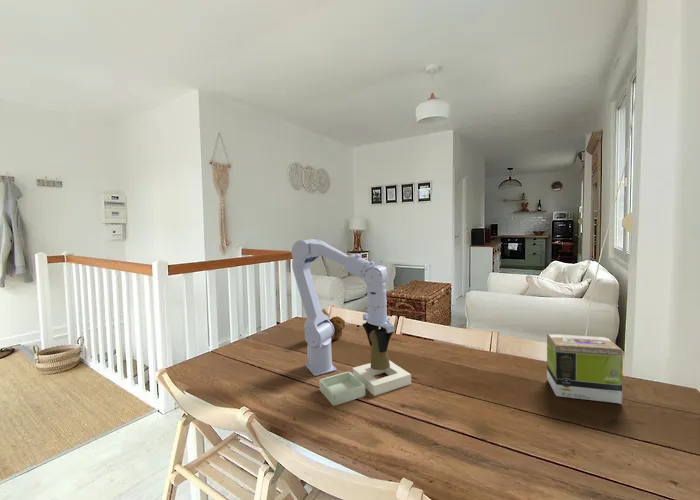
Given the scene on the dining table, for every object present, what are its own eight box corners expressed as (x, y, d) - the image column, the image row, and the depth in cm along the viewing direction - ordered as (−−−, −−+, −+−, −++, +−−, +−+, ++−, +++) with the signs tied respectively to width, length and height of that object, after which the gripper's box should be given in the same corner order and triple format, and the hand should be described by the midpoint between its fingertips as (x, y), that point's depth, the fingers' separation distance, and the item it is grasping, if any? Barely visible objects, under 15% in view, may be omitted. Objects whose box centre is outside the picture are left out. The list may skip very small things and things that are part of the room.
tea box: (606, 386, 92) (607, 335, 91) (622, 405, 82) (625, 349, 81) (545, 379, 97) (546, 331, 95) (554, 397, 87) (556, 344, 86)
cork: (388, 370, 95) (386, 334, 94) (368, 369, 97) (366, 334, 96) (391, 361, 101) (388, 327, 100) (372, 361, 103) (369, 327, 102)
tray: (319, 389, 96) (318, 379, 96) (349, 380, 100) (349, 371, 100) (333, 406, 87) (332, 395, 87) (366, 395, 91) (365, 385, 91)
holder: (352, 376, 103) (352, 367, 102) (387, 367, 109) (386, 358, 108) (374, 396, 91) (374, 385, 91) (411, 383, 97) (411, 374, 97)
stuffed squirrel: (310, 337, 139) (308, 307, 137) (342, 333, 142) (341, 304, 141) (313, 346, 129) (312, 314, 128) (347, 341, 132) (346, 310, 131)
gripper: (402, 308, 93) (403, 353, 94) (375, 298, 106) (376, 338, 107) (381, 312, 89) (382, 359, 91) (356, 301, 102) (358, 342, 104)
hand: (378, 348), depth 99 cm, fingers closed on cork, 5 cm apart
